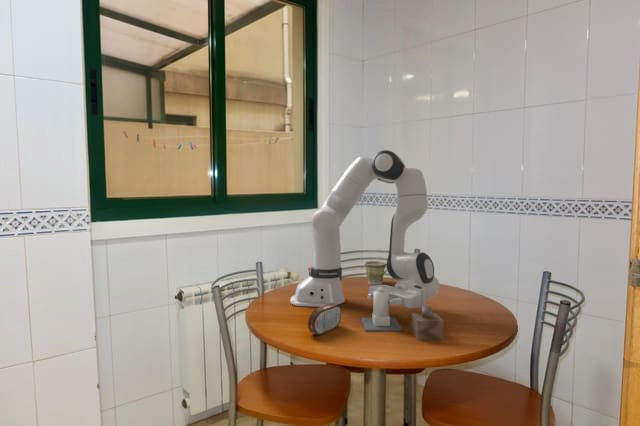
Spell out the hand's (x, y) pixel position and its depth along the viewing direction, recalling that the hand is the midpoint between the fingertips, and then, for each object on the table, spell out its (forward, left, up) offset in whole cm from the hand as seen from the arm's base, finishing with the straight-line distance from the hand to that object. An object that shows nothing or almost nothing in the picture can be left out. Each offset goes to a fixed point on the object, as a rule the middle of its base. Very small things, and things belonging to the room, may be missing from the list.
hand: (379, 299), depth 138 cm
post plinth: (+14, -9, -9) cm, 19 cm away
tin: (-18, -4, -9) cm, 21 cm away
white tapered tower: (+1, 0, -8) cm, 8 cm away
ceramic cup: (+10, +61, -9) cm, 62 cm away
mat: (+1, +1, -9) cm, 9 cm away
